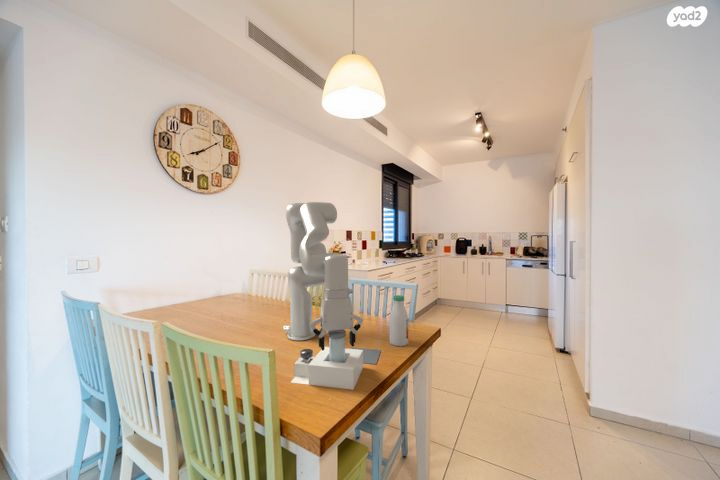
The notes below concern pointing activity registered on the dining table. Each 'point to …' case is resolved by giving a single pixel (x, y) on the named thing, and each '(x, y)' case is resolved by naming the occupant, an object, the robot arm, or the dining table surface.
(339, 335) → the cartridge
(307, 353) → the plunger
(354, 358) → the housing
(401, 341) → the milk bottle
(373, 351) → the mat
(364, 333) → the dining table surface
